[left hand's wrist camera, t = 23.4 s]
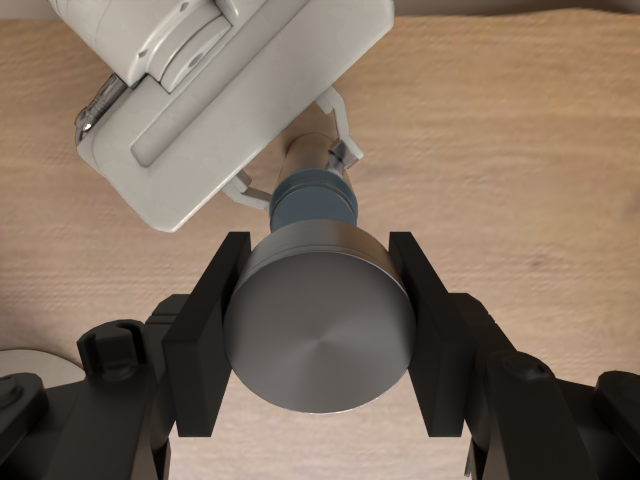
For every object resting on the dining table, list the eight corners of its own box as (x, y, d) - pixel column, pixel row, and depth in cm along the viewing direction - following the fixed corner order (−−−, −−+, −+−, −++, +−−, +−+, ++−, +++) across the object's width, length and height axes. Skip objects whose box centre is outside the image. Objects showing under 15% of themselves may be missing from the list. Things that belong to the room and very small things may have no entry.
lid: (251, 364, 13) (238, 419, 11) (227, 224, 12) (205, 258, 9) (399, 354, 13) (416, 409, 11) (400, 212, 11) (420, 242, 9)
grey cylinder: (275, 165, 32) (243, 235, 18) (309, 121, 31) (305, 157, 16) (317, 198, 33) (320, 289, 19) (352, 157, 32) (383, 221, 17)
